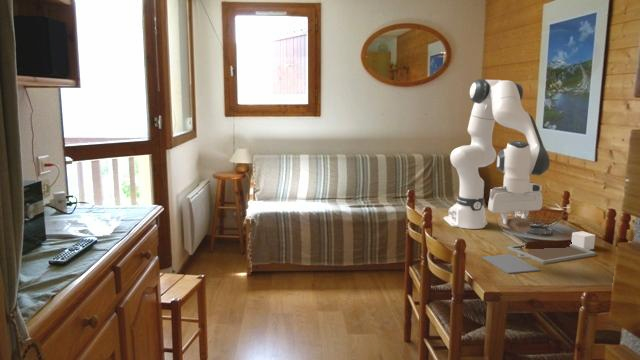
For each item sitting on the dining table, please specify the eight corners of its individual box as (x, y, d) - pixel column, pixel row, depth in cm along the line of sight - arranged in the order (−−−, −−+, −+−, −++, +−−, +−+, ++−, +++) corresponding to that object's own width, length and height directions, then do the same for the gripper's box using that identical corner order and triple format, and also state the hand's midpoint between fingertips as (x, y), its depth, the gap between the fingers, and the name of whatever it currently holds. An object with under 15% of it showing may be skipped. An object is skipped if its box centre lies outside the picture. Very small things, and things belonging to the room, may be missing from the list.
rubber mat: (481, 257, 188) (481, 256, 188) (511, 255, 191) (511, 254, 191) (507, 273, 172) (507, 272, 172) (539, 270, 175) (539, 269, 175)
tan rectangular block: (530, 230, 175) (530, 220, 174) (518, 232, 173) (519, 222, 172) (508, 223, 185) (509, 214, 184) (498, 225, 183) (498, 215, 183)
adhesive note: (581, 244, 204) (582, 231, 203) (593, 249, 199) (595, 235, 198) (570, 246, 202) (572, 232, 201) (583, 250, 197) (584, 236, 196)
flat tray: (596, 252, 191) (538, 262, 180) (596, 256, 191) (537, 266, 181) (557, 239, 209) (501, 247, 198) (556, 242, 209) (501, 251, 198)
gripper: (495, 189, 171) (493, 226, 174) (546, 186, 175) (543, 223, 178) (485, 185, 177) (483, 222, 180) (535, 183, 181) (532, 219, 184)
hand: (514, 222), depth 179 cm, fingers closed on tan rectangular block, 5 cm apart
